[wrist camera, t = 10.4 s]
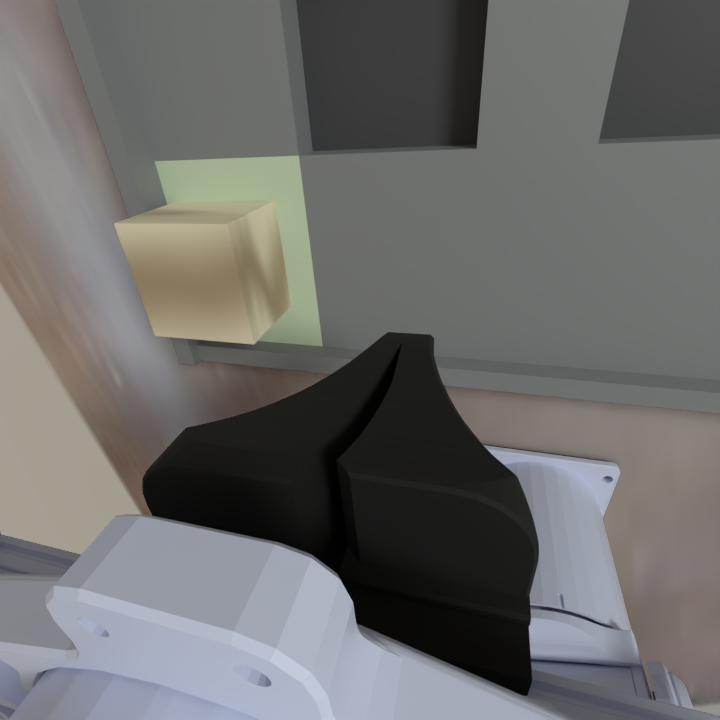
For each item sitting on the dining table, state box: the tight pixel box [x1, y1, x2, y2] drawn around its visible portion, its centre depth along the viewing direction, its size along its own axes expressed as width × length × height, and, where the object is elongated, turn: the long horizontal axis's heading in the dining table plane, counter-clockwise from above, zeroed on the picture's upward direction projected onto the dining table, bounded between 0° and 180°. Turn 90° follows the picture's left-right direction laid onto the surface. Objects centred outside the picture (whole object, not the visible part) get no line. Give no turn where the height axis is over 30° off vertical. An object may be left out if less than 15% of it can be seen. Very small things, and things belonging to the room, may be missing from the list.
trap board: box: [54, 0, 720, 414], centre depth 15 cm, size 18×36×4 cm, turn 93°
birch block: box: [114, 201, 291, 344], centre depth 18 cm, size 5×5×4 cm
